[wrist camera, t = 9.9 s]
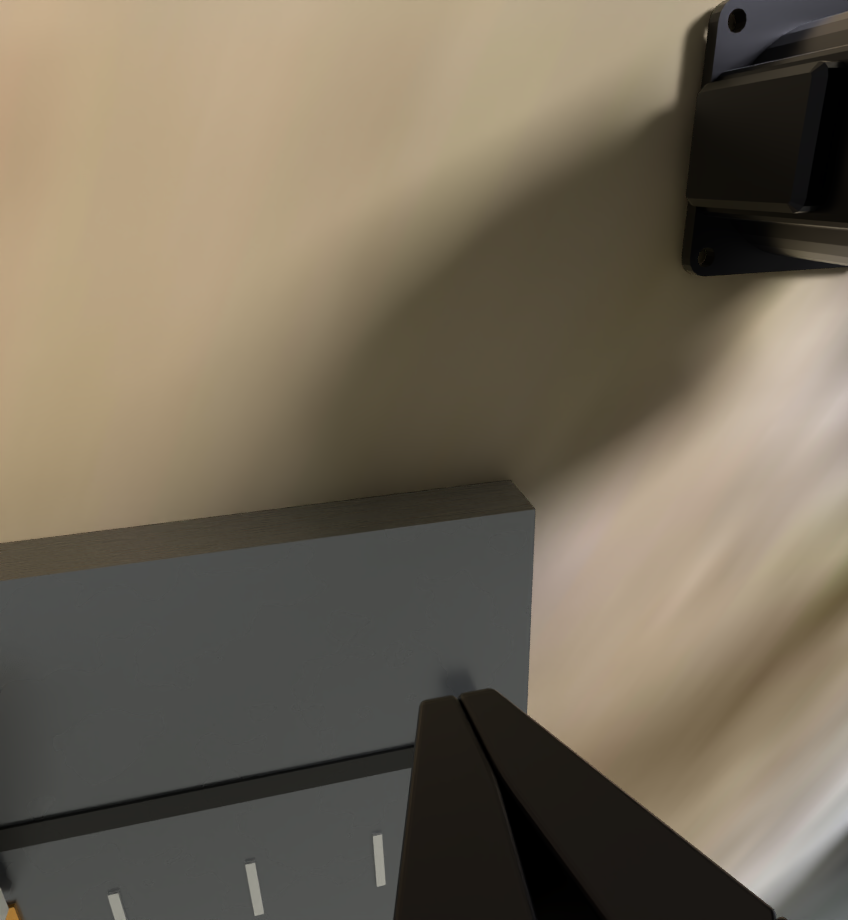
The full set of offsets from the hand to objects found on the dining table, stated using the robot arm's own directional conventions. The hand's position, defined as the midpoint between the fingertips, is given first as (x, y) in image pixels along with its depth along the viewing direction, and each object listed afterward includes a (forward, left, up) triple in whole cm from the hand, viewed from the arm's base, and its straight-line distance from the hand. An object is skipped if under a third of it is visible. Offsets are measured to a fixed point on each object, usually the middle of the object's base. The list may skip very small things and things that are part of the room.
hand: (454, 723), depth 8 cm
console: (+6, +11, -12) cm, 17 cm away
